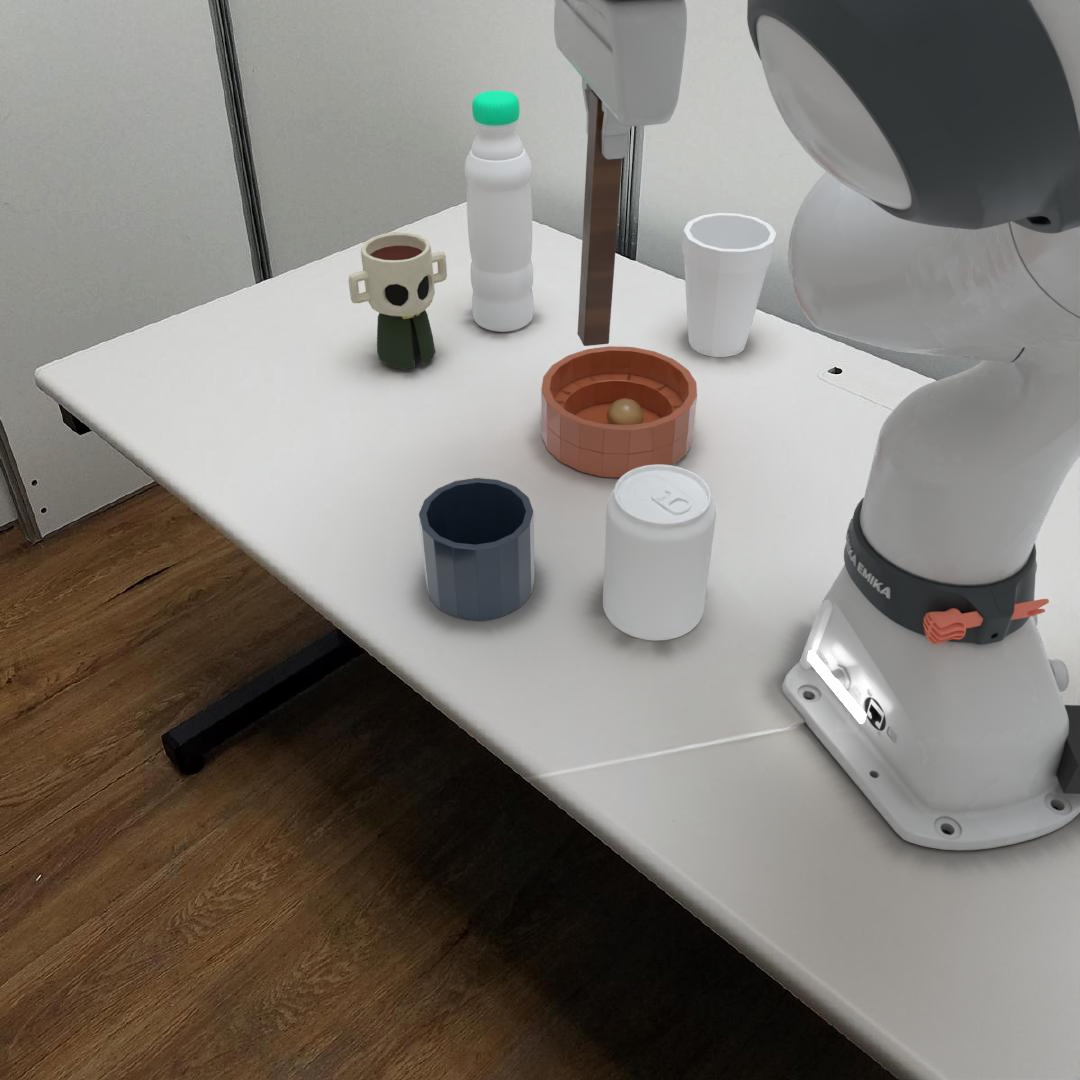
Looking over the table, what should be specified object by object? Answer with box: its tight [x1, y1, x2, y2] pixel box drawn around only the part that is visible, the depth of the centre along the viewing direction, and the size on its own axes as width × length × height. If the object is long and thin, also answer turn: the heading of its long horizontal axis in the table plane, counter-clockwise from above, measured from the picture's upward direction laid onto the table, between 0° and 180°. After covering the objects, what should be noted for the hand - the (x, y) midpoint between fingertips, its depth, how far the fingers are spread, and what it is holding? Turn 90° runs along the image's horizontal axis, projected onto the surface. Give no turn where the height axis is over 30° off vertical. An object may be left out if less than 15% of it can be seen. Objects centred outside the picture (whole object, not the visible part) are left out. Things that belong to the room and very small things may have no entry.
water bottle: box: [464, 90, 535, 333], centre depth 115 cm, size 7×7×25 cm
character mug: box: [348, 231, 448, 370], centre depth 112 cm, size 11×7×13 cm, turn 120°
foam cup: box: [681, 212, 777, 358], centre depth 114 cm, size 10×9×13 cm
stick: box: [577, 90, 623, 347], centre depth 84 cm, size 2×2×20 cm
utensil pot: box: [418, 477, 536, 622], centre depth 86 cm, size 9×9×8 cm
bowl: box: [540, 345, 698, 479], centre depth 103 cm, size 15×15×6 cm
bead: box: [606, 398, 644, 425], centre depth 103 cm, size 4×4×4 cm
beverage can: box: [602, 465, 717, 642], centre depth 82 cm, size 8×8×12 cm
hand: (606, 147), depth 80 cm, fingers closed on stick, 2 cm apart
